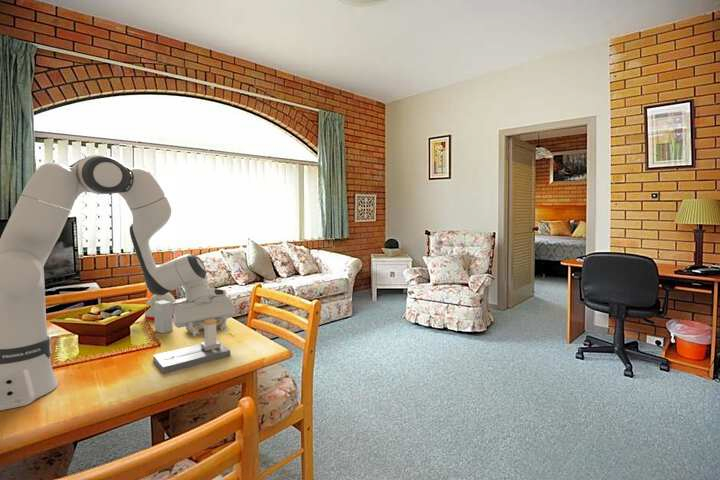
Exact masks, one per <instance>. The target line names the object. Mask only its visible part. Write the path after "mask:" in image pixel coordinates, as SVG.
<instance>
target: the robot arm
mask: <svg viewBox="0 0 720 480" xmlns="http://www.w3.org/2000/svg"><path fill="white" fill-rule="evenodd" d="M85 192H87V193H93V194H97V195H111V194H119V195H120V196H121V197H122V199H124V200H125V202H126V204H127V206H128V208H129V210H130V212H131V214H132V224H131V225H130V226H129V235H130V239H131V242H132V245H133V248H134V251H135V254H136V257H137V260H138V263H139V265H140V269H141V271H142V274H143V277H144V283H145V286H146V288H147V290H148V291H149V292H150V293H151V294H153V295H154V294H157V295H164V294H166V293H168V292H169V293H171V292H172V291H173V290H176V289H178V288H181V287H182V288H183V290H184V297H185V300H181V301H177V302H174V304H172V305H171V306H170V310H171V312H172V313H173V318H172V319H173V324H174V326H175V327H176V328H177V329H179V328H186V326H187V328H188V329H189V330H190V331H191V332H193V333H192V336H193V337H197V336H199V335H200V333H199V331H198V329H195V328H194V327H193V325H196V324H201V323H204V320H206V319H211V318H213V319H215V320H221V321H222V322H223V321H224V322H223V324H221V326H220V330H221V331H224V330H227V329H228V326H227V320H228V319H231V318H233V316H234V315H235V312H236V308H235V306H234V304H233V303H234V302H232V300H231V298H230V297H229V296H227V290H225V289H221V288H214V287H211V285H210V284H209V283H208V277H207V271H206V266H205V264H204V262H203V260H202V259H201V258H200V257H199V256H197V255H195V254H191V253H188V254H187V253H186V254H183V255H181V256H179V257H176V258H174V259H172V260H170V261H167V262H164V263H162V264H157V263H156V262H155V259H154V255H153V253H152V250H151V247H150V240H151V238H152V237H153V236H155V234H156V233H157V232H158V231H160V230H161V229H162V228H163V227H164V226H165V225H166V224H167V223H168V221H169V220H170V218H171V216H172V208H171V205H170V201H169V199H168V198H167V196H166V194H165V192H164V191H163V189H162V187H161V186H160V184H159V182H158V181H157V180H156V178H155V177H154V176H153V174H152V173H151V172H150V171H149V170H148V169H146V168H142V167H131V168H130V167H128V166H126V165H125V164H123V163H122V162H120V161H119V160H118V159H115V158H113V157H111V156H107V155H98V154H97V155H90V156H86V157H84V158H81V159H79V160H77V161H75V163H73V164H71V165H69V166H66V165H64V164H60V163H54V162H53V163H51V162H48V163H44V164H42V165H40V166H39V167H38V168H37V169H36V170H35V172H34V173H33V174H32V176H31V177H30V178H29V180H28V182H27V183H26V185H25V186H24V188H23V190H22V192H21V194H20V196H19V198H18V200H17V202H16V205H15V206H14V208H13V211H12V213H11V215H10V217H9V219H8V221H7V223H6V225H5V227H4V230H3V232H2V234H1V235H0V236H1V237H0V411H6V410H11V409H15V408H19V407H25V406H27V405H29V404H31V403H33V402H34V401H36V400H37V399H39V398H41V397H42V396H44V395H45V396H46V395H47V394H49V393H51V392H52V391H54V390H55V389H56V388H57V387H58V385H59V381H58V380H57V378H56V375H55V372H54V370H53V366H52V363H51V362H52V361H51V356H52V355H51V354H52V346H51V345H52V344H51V340H50V336H49V335H48V328H47V327H48V326H47V313H46V311H47V310H46V308H47V307H46V288H45V287H46V285H45V271H44V267H45V264H46V263H47V260H48V259H49V256H50V255H51V252H52V251H53V249H54V247H55V245H56V243H57V241H58V240H59V238H60V236H61V233H62V232H63V229H64V228H65V225H66V223H67V221H68V218H69V216H70V213H71V211H72V209H73V207H74V205H75V202H76V200H77V199H78V197H79V196H80V195H81V194H82V193H85Z"/></svg>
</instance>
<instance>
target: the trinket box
mask: <svg viewBox="0 0 720 480" xmlns="http://www.w3.org/2000/svg"><path fill="white" fill-rule="evenodd" d="M216 321H217V324H216V330H218V329H221V327H220V326H221V324H223V322H224V321H223V322H222V321H221V320H216ZM193 327H194V328H195V329H198V331H199V334H203V333H204V323H201V324H196V325H193ZM185 329H186V330H187V333H188V334H193V332H191V331H190V330H189V329H188V328H187V326H186V327H185Z"/></svg>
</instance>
